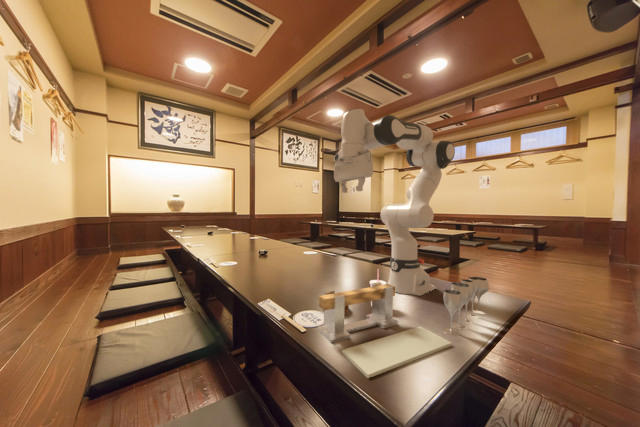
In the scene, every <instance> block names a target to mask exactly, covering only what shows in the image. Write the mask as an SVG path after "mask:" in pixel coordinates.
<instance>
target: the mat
mask: <svg viewBox="0 0 640 427" xmlns="http://www.w3.org/2000/svg"><path fill="white" fill-rule="evenodd" d="M452 345H453V342H451V341H449V340H447V339H445V338H444V337H442V336H440V335H438V334H436V333H434V332H432V331H430V330H428V329H426V328H425V327H422V326H417V327H413V328H410V329H406V330H403V331H400V332H397V333H394V334H390V335H388V336H387V335H386V336H384V337H380V338H377V339H374V340H371V341H367V342H364V343H361V344H358V345H354V346H351V347H348V348H344V349H342V350H341V354H342V355H343V356H344V357H345V358H346V359H347V360H348V361H349V362H350V363H351V364H352V365H353V366H354V367H355V368H356V369H357V370H358V371H359V372H360V373H361V374H362V375H363V376H364V377H366V378H367V379H371V378H372V377H375V376H378V375H381V374H383V373H386V372H387V371H390V370H393V369H396V368H398V367H400V366H403V365H406V364H409V363H411V362H414V361H416V360H418V359H421V358H425V357H427V356H428V355H431V354H434V353H436V352H439V351H442V350H445V349H446V348H449V347H452ZM370 377H371V378H370Z"/></svg>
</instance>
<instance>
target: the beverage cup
mask: <svg viewBox="0 0 640 427" xmlns="http://www.w3.org/2000/svg"><path fill="white" fill-rule="evenodd" d="M379 272H380V268H377V272H376V273H377V275H376V276H377V278H376V279H371V280H369V285H370V287H372V283H378V282H380V283H381V285H386V284H387V282H386V281H385V280H383V279H382V280H381V279H379V278H380V277H379V276H380V274H379ZM370 305H371V307H372V301H370Z"/></svg>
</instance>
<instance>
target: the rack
mask: <svg viewBox="0 0 640 427" xmlns="http://www.w3.org/2000/svg"><path fill="white" fill-rule="evenodd" d="M380 285H381V283H380V282H378V283H372V287H374V286H380ZM323 293H324V294H323V295H328V294H333V293H336V290H335V289H329V290H324V291H323ZM393 300H394V296H393V287H386V288H383V298H382V299H378V300H373V301H372V306H371V313H369V314H366V319H362V320H358V321H354V322H348V323H345V314H344V305H345V296H343V295H341V296H336V297H333V309H329V310H323V324H322V325H319V326H317V331H318V332H319V333H321V335H322V336H324V337H325V339H327V341H328V342H329V343H331V344H334V343H337V342H341V341H344V340H348V339H351V333H354V332H357V331H360V330H364V329H369V328H372V327H376V326H379V327H380V328H381V329H387V328H390V327H394V326H398V325H399V321H398V320H396V319H394V318H393V310H394V309H393V307H394V306H393V305H394V302H393Z"/></svg>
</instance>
